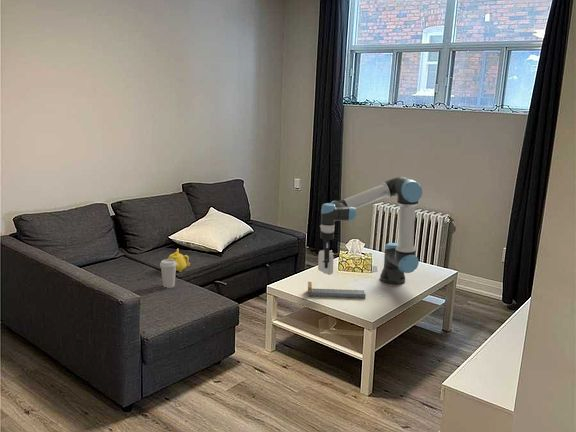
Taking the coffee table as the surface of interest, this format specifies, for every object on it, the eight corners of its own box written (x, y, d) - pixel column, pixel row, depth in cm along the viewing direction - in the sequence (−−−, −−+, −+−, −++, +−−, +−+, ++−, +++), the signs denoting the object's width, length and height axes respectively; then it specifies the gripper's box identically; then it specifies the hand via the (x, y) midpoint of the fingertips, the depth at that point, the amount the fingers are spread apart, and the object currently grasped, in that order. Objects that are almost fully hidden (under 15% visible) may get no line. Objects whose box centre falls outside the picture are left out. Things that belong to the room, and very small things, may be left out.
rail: (363, 292, 316) (364, 283, 315) (365, 298, 307) (365, 289, 306) (307, 290, 317) (308, 281, 315) (307, 296, 308) (308, 287, 307)
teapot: (188, 275, 337) (188, 257, 334) (164, 275, 335) (163, 257, 333) (191, 264, 356) (190, 247, 354) (167, 265, 355) (167, 247, 352)
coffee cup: (180, 284, 321) (180, 260, 317) (170, 290, 312) (170, 264, 309) (167, 282, 325) (166, 257, 321) (156, 287, 316) (156, 262, 313)
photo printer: (316, 269, 313) (317, 249, 310) (322, 268, 315) (323, 247, 312) (327, 275, 304) (328, 253, 301) (333, 274, 307) (335, 252, 304)
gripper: (319, 226, 315) (318, 263, 320) (321, 236, 293) (319, 276, 299) (333, 226, 315) (331, 264, 320) (335, 237, 293) (333, 277, 298)
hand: (325, 270), depth 309 cm, fingers closed on photo printer, 9 cm apart
